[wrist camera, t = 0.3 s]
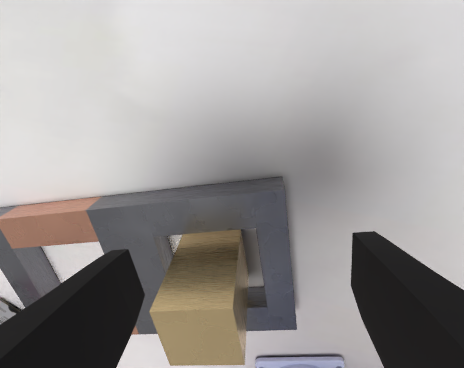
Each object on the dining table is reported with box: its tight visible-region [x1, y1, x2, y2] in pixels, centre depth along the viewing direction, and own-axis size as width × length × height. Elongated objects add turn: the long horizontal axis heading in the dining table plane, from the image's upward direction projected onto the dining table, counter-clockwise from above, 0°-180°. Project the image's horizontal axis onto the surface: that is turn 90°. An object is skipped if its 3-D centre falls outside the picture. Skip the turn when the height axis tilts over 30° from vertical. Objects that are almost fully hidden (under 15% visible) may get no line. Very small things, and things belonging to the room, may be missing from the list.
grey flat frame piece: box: [0, 177, 297, 334], centre depth 20 cm, size 12×22×2 cm, turn 99°
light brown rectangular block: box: [149, 229, 249, 365], centre depth 17 cm, size 4×4×7 cm
